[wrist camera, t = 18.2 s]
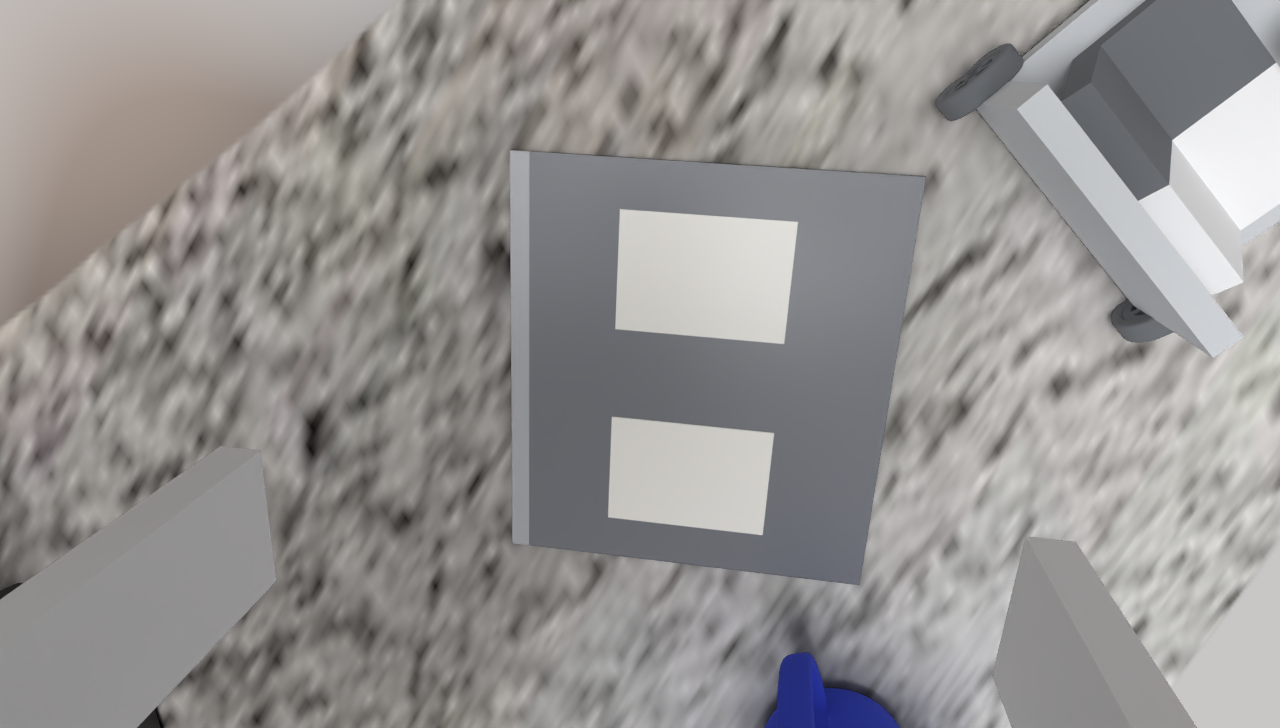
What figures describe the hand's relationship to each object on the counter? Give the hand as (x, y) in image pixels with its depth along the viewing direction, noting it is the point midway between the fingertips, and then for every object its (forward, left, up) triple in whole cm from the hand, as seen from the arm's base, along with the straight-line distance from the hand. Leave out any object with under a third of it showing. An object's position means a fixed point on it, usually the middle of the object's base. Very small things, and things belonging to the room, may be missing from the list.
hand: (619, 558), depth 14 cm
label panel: (0, -4, -21) cm, 21 cm away
